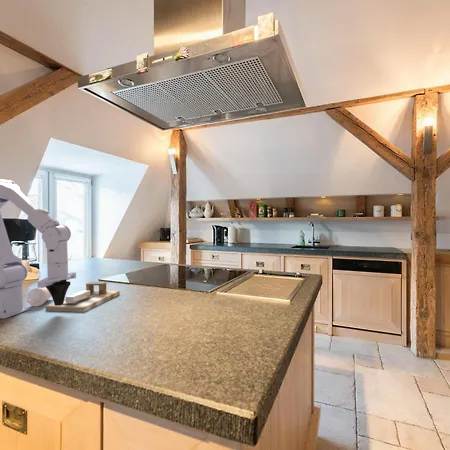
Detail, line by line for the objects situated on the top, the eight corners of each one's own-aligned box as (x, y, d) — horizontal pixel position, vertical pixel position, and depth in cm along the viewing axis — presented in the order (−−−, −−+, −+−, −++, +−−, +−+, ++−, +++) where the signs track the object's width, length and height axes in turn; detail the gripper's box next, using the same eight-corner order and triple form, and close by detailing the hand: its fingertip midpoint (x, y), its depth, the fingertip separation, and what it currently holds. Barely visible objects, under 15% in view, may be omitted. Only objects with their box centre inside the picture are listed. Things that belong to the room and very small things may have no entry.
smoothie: (37, 296, 111) (15, 304, 98) (45, 281, 112) (24, 287, 98) (53, 303, 112) (33, 313, 98) (61, 288, 112) (42, 295, 99)
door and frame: (83, 312, 95) (83, 294, 95) (45, 310, 98) (45, 293, 98) (119, 294, 117) (119, 280, 117) (87, 293, 120) (87, 280, 119)
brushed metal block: (73, 303, 99) (73, 296, 99) (65, 303, 99) (65, 296, 99) (90, 296, 108) (90, 290, 108) (82, 296, 108) (82, 290, 108)
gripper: (51, 266, 86) (53, 312, 86) (83, 259, 100) (84, 299, 100) (30, 266, 87) (32, 311, 87) (65, 259, 101) (66, 298, 102)
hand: (58, 305), depth 94 cm, fingers closed
